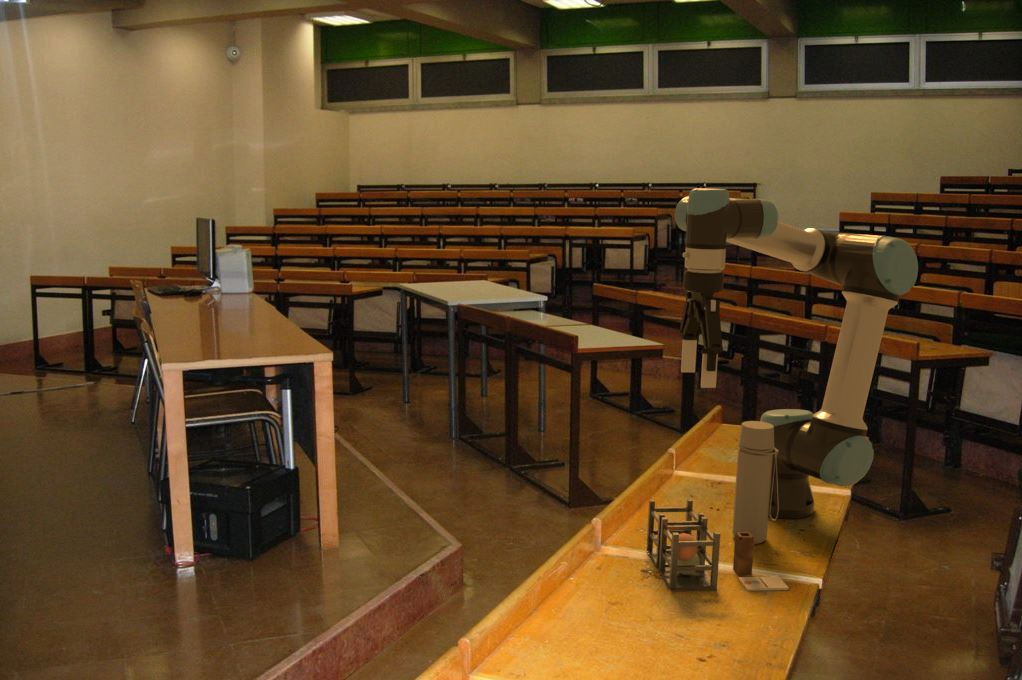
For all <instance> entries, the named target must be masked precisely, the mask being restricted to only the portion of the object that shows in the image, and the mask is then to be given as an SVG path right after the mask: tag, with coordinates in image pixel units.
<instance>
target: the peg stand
mask: <svg viewBox="0 0 1022 680" xmlns="http://www.w3.org/2000/svg"><path fill="white" fill-rule="evenodd" d="M754 547H755V544H754V536H753V535H752V534H751V533H748V532H737V533H736V535H735V538H734V548H733V560H732V561H733V563H732V569H733V570H734V572H735V573H736V575H738V576H740V575H742V576H743V575H744V576H745V575H750V576H751V575H753V564H754V563H753V560H754V549H755V548H754Z"/></svg>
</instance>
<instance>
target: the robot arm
mask: <svg viewBox="0 0 1022 680" xmlns="http://www.w3.org/2000/svg"><path fill="white" fill-rule="evenodd" d="M674 210H675V211H674V220H675V223H676V225H677V227H678V228H679V229H680V230H682V231H683V232H685V252H683V253H682V257H683V258H684V268H686V269H687V270H685V271H684V272H683V280H682V281H683V284H682V285H683V286H682V288H683V290H685V291H686V294H685V302H684V308H683V313H682V318H681V322H680V326H679V330H678V333H679V334H680V335H681V338H682V342H681V343H682V344H681V345H682V346H681V364H680V366H681V367H680V372H681V373H696V362H697V343H698V339H699V334H698V331H699V329H700V330H701V337H702V343H703V349H701V352H700V354H701V355H702V359H701V360H702V361H701V372H700V373H701V374H700V375H701V377H700V388H701V389H716V388H717V377H718V376H717V373H718V358H719V354H720V353H723V351H724V348H723V337H722V327H721V326H722V325H721V324H722V323H721V315H720V312H721V311H720V310H721V308H720V307H721V301H720V300H719V299H715V298H714V294H715V293H717V294H718V293H721V292H723V290H724V283H725V279H724V278H725V273H724V272H722V271H723V270H724V269H725V268H726V255H727V253H726V252H727V243H730V244H733V245H735V246H739V247H741V248H745V249H747V250H750V251H755V252H757V253H760V254H763V255H767V256H769V257H773V258H775V259H779V260H782V261H785V262H788V263H791V265H792V266H793V267H794V268H795V269H796V270H799V271H801V272H804V273H807V274H809V275H813V276H815V277H816V278H820V279H822V280H824V281H827V282H830V283H833V284H835V285H839V286H843V287H842V289H841V290H842V291H841V294H842V295H843V297H844V299H845V300H846V305H845V308H844V309H845V310H844V313H843V317H842V322H841V325H840V326H841V327H840V330H839V334H838V339H837V343H836V345H835V347H836V348H835V351H834V355H833V359H832V363H831V368H830V372H829V376H828V381H827V385H826V387H825V389H826V390H825V392H824V393H825V394H824V397H823V402H822V405H821V409H820V410H819V411H817V412H815V413H813V412H812V411H810V410H805V409H796V408H795V409H794V408H792V409H791V408H784V409H783V408H781V409H772V410H767V411H765V412H763V413H762V414H761V416H760V420H759V421H760V422H766V423H769V424H772V425H773V426H774V448H776V449H777V450H778V454H777V458H776V459H777V477H776V462H775V454H773V461H772V474H771V488H770V500H771V491H772V483H773V492H772V502H771V512H770V514H771V517H772V518H776V517H777V519H787V520H788V519H802V518H807V517H810V516H811V515H813V514H814V512H815V498H814V495H813V491H812V487H811V483H810V479H809V477H813V478H815V479H818V480H820V481H822V482H824V483H826V484H827V485H828V484H830V485H834V486H837V487H843V488H844V487H845V488H847V487H851V486H853V485H855V484H857V483H858V482H859V481H861V479H863V478H864V477H865V476H866V474H867V473H868V472H869V470H870V468H871V466H872V463H873V460H874V455H875V453H874V452H875V451H874V448H873V443H872V442H871V441H870V440H869V438H867V437H866V436H867V433H868V426H867V424H866V423H865V422H864V419H863V416H864V412H865V409H866V405H867V400H868V396H869V392H870V388H871V384H872V379H873V376H874V371H875V368H876V362H877V358H878V354H879V351H880V347H881V342H882V338H883V334H884V330H885V326H886V321H887V318H888V313H889V311H890V309H891V308H893V307H894V308H895V306H897V305H898V303H899V301H900V297H901V295H904V294H906V293H908V292H910V291H911V290H912V289H911V288H913V287H914V286H915V284H916V281H917V279H918V272H919V261H918V258H917V253H915V250H914V248H913V246H912V245H911V244H910V243H909V242H907V241H906V240H904V239H902V238H900V237H899V238H898V237H893V236H890V235H888V236H887V235H875V234H874V235H873V234H863V233H862V234H861V233H852V232H832V231H831V232H830V231H822V230H819V229H816V228H813V227H812V228H809V227H808V228H806V229H802V228H798V227H796V226H794V225H791V224H787V223H785V222H781V221H780V220H779V212H778V210H777V206H776V205H775V204H774V203H773V202H772V201H770V200H768V199H761V198H733V197H730V193H729V190H728V189H726V188H705V187H704V188H703V187H702V188H701V187H696V188H693V189H691V190H690V191H689V194H688V195H687V196H685V197H683V198H682V199H681V200H679V202H678V203H677V205H676V206H675V209H674ZM772 452H773V453H775V449H773V450H772ZM774 465H775V472H774ZM773 474H774V482H773ZM777 480H778V500H779V511H778V502H777ZM769 510H770V501H769ZM777 511H778V516H777ZM768 517H770V516H769V515H768Z"/></svg>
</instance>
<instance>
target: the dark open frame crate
mask: <svg viewBox="0 0 1022 680" xmlns="http://www.w3.org/2000/svg"><path fill="white" fill-rule="evenodd" d="M668 521H669V518H668V517H666V516H665V517H662V519H661V537H660V556H659V569H658V573H659V575H660V576H661V578H662V579H663V581H664V583H665V585H666V586H667V588H668V589H669V591H670V592H681V591H684V592H685V591H686V592H687V591H717V590H718V576H719V560H720V546H721V533H720V531H713V532H711V531H710V529H709V528H708V523H709V518H708V517H707V516H704V517H701V525H677V526H668ZM684 530H691V531H697V530H700V541H679V534H678V532H677V533H672V534H671V533H670V531H684ZM707 538H708V539H709V540H707ZM668 541H669V542H670V544H671V543H672V546H671V549H666V547H667V545H668V544H667V542H668ZM679 546H699V549H698V550H697V554H699V560H700V565H686V566H677V562H678V547H679ZM707 547H712V548H711V549H712V550H711V551H712V552H711V556H710V555H709V553H708V552H707ZM668 554H671V559H670V557H669V556H668ZM666 562H667V564H668V565H669V567H665V565H666ZM706 562H707V564H706ZM678 571H696V572H695V573H693V574H691V575H683V574H680V573H679V572H678ZM708 571H710V573H708Z"/></svg>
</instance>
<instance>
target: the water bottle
mask: <svg viewBox="0 0 1022 680" xmlns="http://www.w3.org/2000/svg"><path fill="white" fill-rule="evenodd" d="M738 437H739V438H738V442H737V446H738V448H737V461H736V474H735V475H736V476H735V478H736V479H735V487H734V488H735V489H734V491H735V492H734V502H733V503H734V504H733V505H734V507H733V517H732V520H733V521H732V533H731V534H732V535H733V538H734V539H735V535H736V533H737V532H748V533H751V534H752V535H753V536H754V545H758V544H762V543H764V542H765V541H766V540H767V538H768V526H769V518H770V520H771V521H774V522H776V521H777V519H778V518H777V517H775V518H773V517H771V514H770V512H771V502H772V492H773V483H772V491H771V500H770V488H771V474H772V461H773V454H775V462H776V477H777V459H776V458H777V454H778V450H777V449H776V448H774V426H773V425H772V424H769V423H766V422H760V420H747V421H743V422H741V424H740V431H739V436H738ZM773 449H775V453H773V452H772V450H773ZM774 472H775V465H774ZM773 482H774V474H773ZM769 501H770V510H769ZM777 502H778V511H779V500H778V480H777ZM778 511H777V516H778ZM768 515H769V516H768Z"/></svg>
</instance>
